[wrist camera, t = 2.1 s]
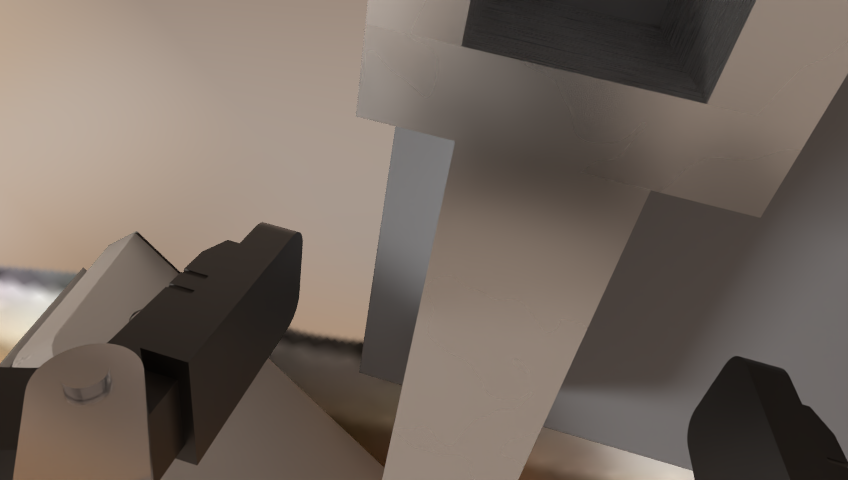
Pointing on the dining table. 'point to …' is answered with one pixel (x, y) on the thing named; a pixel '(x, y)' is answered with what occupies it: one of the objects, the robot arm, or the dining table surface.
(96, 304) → the grey arched slotted block
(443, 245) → the grey long bar
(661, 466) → the dining table surface
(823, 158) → the board
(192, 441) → the robot arm
